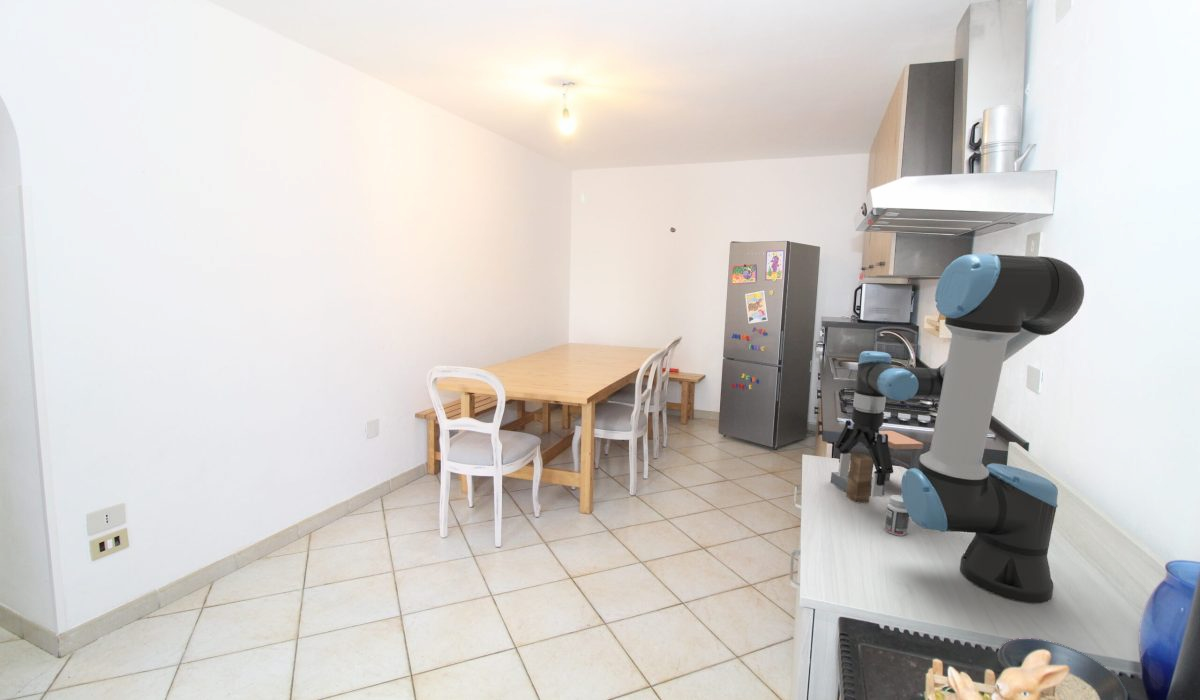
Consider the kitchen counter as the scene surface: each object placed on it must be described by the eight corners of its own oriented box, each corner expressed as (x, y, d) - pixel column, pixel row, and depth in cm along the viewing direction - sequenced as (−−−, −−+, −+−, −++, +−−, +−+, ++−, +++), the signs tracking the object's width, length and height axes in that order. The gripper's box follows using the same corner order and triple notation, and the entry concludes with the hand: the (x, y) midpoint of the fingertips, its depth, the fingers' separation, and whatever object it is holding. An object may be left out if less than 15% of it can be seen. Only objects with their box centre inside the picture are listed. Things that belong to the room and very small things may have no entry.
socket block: (884, 494, 153) (885, 484, 152) (852, 496, 151) (853, 485, 150) (860, 480, 162) (861, 471, 162) (830, 481, 160) (831, 472, 160)
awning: (916, 494, 154) (923, 443, 151) (888, 496, 152) (895, 444, 149) (886, 478, 165) (892, 430, 163) (859, 479, 163) (865, 431, 161)
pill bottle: (909, 531, 131) (913, 498, 129) (903, 538, 127) (908, 504, 126) (887, 524, 134) (892, 492, 133) (881, 530, 130) (886, 497, 129)
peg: (868, 502, 147) (874, 459, 145) (855, 502, 146) (860, 459, 144) (858, 495, 151) (864, 454, 149) (846, 496, 150) (851, 454, 148)
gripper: (916, 422, 134) (904, 504, 137) (850, 397, 158) (842, 468, 161) (889, 423, 132) (878, 506, 135) (827, 398, 156) (819, 468, 159)
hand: (858, 485), depth 148 cm, fingers open, 13 cm apart
